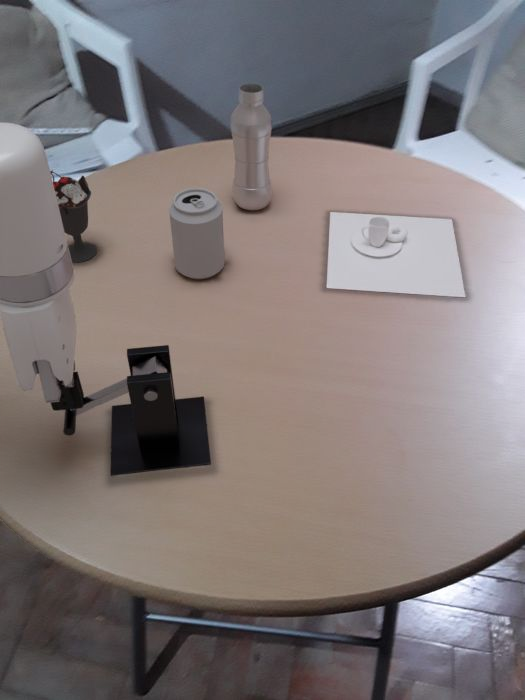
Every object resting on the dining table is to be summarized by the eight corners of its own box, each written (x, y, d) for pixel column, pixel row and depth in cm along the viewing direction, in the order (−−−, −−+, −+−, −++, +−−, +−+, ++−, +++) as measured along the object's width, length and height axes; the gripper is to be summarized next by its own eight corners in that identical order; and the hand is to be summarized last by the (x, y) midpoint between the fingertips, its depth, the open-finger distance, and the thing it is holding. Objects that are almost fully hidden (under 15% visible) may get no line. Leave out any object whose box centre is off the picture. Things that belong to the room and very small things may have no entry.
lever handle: (71, 440, 72) (57, 428, 71) (74, 398, 77) (61, 386, 75) (168, 397, 70) (156, 384, 68) (166, 356, 74) (154, 343, 72)
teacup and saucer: (405, 231, 109) (409, 209, 107) (408, 261, 104) (412, 239, 101) (350, 227, 110) (353, 206, 107) (350, 257, 104) (353, 235, 101)
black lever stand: (112, 480, 75) (92, 405, 66) (113, 412, 82) (95, 335, 73) (211, 469, 76) (205, 393, 67) (204, 402, 83) (197, 326, 74)
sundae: (53, 265, 102) (30, 177, 92) (64, 239, 107) (43, 152, 97) (97, 266, 102) (78, 178, 92) (106, 240, 107) (89, 153, 97)
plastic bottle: (260, 219, 112) (260, 101, 98) (225, 208, 114) (220, 91, 100) (278, 200, 116) (281, 85, 102) (244, 190, 118) (242, 75, 104)
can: (207, 246, 106) (203, 178, 98) (234, 270, 102) (232, 201, 93) (165, 263, 103) (157, 194, 95) (192, 289, 99) (186, 219, 90)
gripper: (-5, 222, 65) (39, 358, 78) (-30, 328, 54) (25, 464, 67) (76, 216, 65) (106, 351, 78) (66, 320, 55) (102, 456, 68)
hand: (68, 403), depth 73 cm, fingers closed
